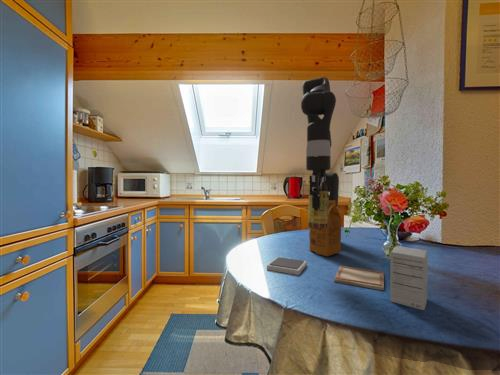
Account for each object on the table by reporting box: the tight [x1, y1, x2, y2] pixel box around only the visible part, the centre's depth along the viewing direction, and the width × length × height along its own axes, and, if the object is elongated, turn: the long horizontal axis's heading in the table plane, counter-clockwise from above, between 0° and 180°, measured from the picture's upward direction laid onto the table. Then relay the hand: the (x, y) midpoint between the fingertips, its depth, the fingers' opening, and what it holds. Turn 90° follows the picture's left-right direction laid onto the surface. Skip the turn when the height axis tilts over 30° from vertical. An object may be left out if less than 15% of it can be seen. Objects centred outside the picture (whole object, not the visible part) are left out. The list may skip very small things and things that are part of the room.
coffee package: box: [308, 201, 342, 257], centre depth 105 cm, size 10×12×22 cm
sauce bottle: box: [307, 170, 330, 229], centre depth 82 cm, size 7×6×20 cm
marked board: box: [333, 265, 385, 291], centre depth 78 cm, size 13×13×1 cm
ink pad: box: [266, 256, 308, 276], centre depth 88 cm, size 10×11×2 cm
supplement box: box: [389, 245, 429, 311], centre depth 64 cm, size 7×7×13 cm
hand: (318, 207), depth 82 cm, fingers closed on sauce bottle, 6 cm apart
